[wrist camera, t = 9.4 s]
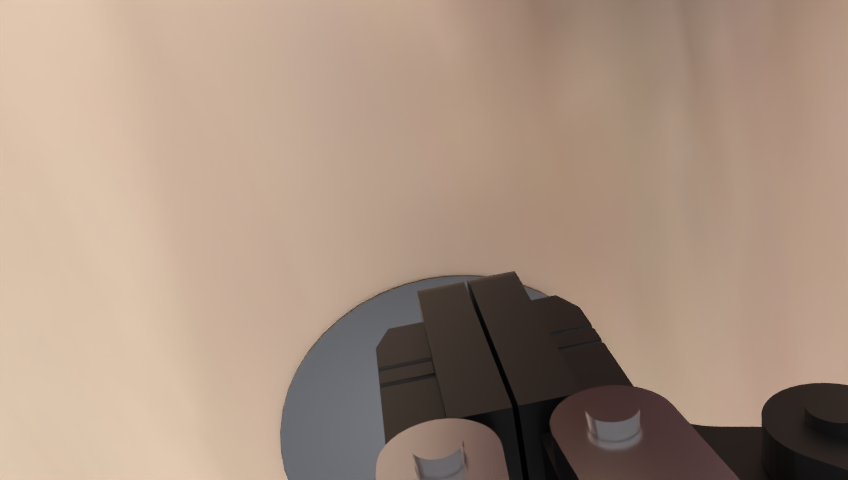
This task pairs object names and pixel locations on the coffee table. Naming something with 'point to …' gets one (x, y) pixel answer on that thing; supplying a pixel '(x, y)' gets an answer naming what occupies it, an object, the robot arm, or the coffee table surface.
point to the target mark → (347, 390)
